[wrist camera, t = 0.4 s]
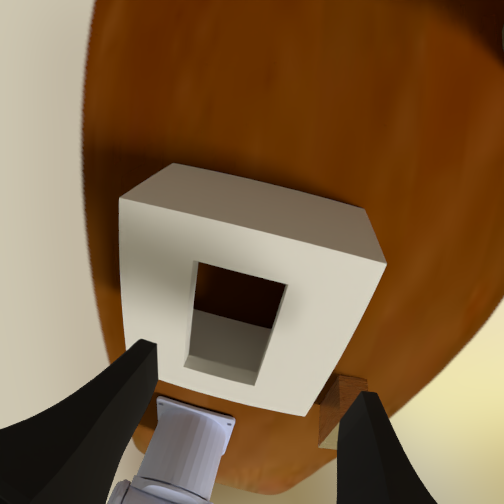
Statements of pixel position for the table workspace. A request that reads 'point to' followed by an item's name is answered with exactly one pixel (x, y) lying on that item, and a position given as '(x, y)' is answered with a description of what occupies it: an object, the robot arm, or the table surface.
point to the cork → (503, 37)
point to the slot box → (252, 263)
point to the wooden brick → (337, 408)
